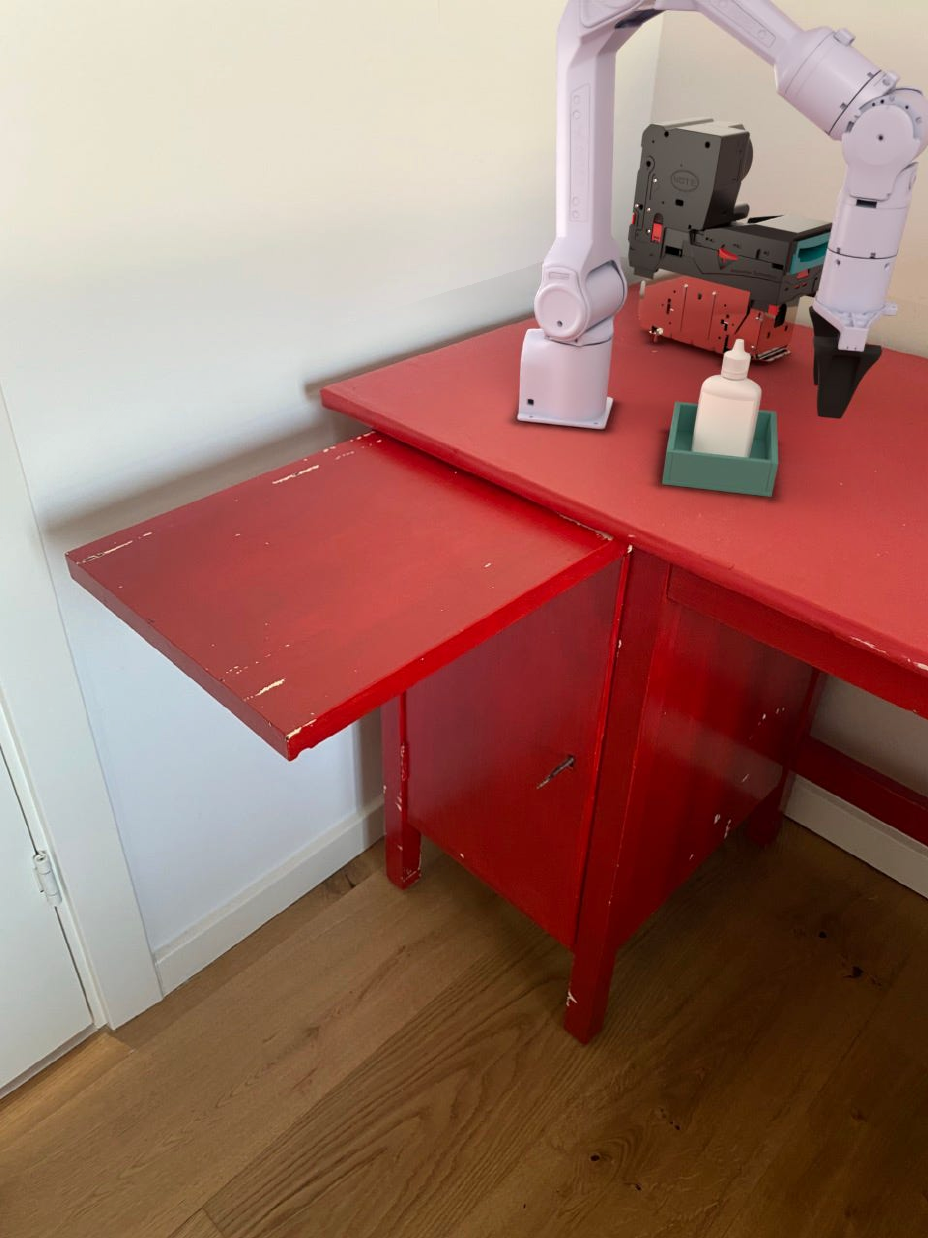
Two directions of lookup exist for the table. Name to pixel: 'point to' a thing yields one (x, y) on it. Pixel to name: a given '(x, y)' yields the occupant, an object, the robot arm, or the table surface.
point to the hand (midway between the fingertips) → (826, 400)
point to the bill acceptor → (716, 244)
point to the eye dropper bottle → (728, 408)
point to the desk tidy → (721, 457)
